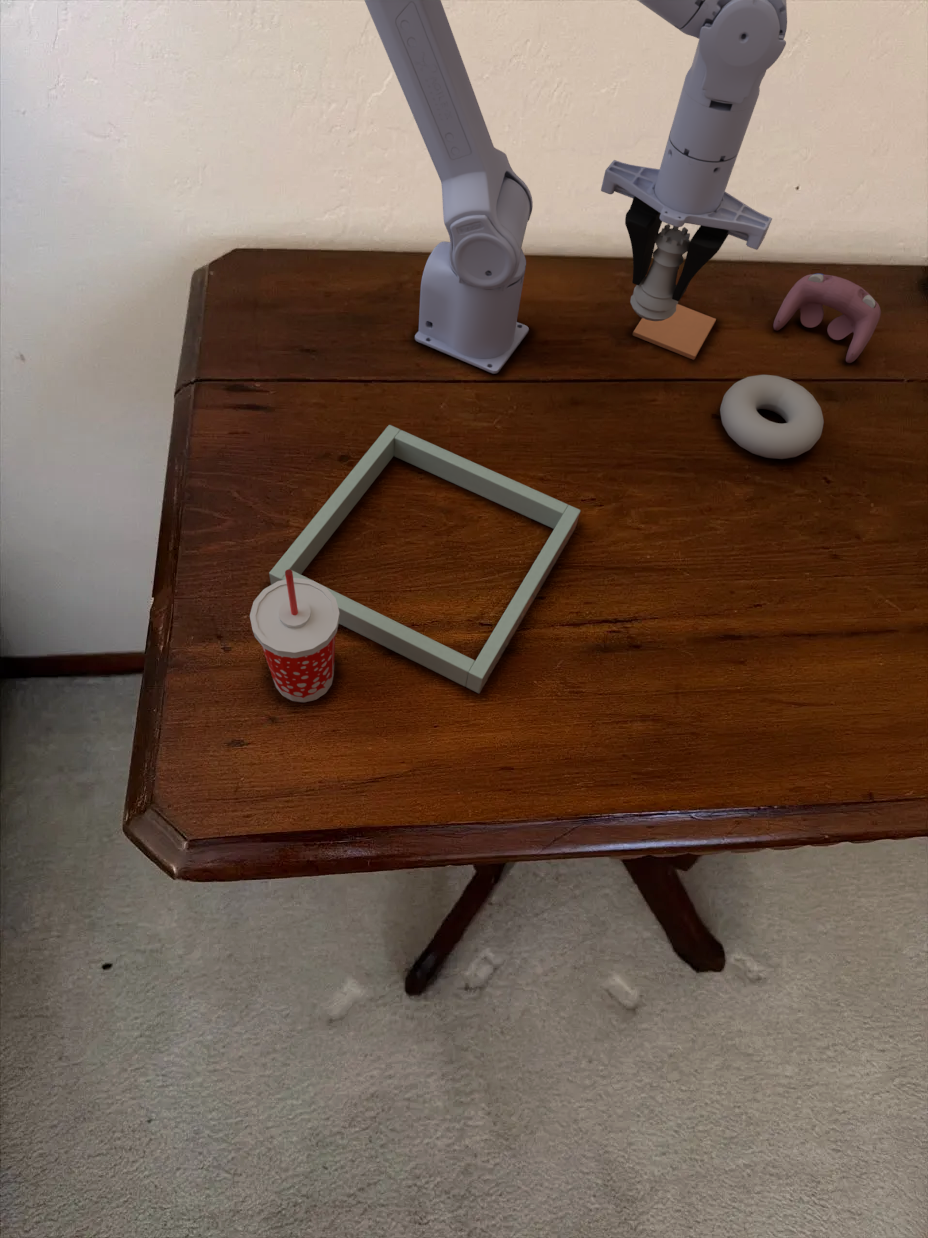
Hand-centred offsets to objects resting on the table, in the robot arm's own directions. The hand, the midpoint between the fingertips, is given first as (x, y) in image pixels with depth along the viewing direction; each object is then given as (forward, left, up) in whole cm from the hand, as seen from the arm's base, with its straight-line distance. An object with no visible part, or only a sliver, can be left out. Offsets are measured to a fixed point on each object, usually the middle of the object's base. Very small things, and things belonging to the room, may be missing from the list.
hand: (658, 286), depth 82 cm
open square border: (-6, -32, -10) cm, 34 cm away
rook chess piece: (0, 0, -3) cm, 3 cm away
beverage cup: (-9, -47, -10) cm, 49 cm away
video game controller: (+16, +16, -10) cm, 25 cm away
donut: (+15, -1, -10) cm, 18 cm away
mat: (+2, +8, -10) cm, 13 cm away
